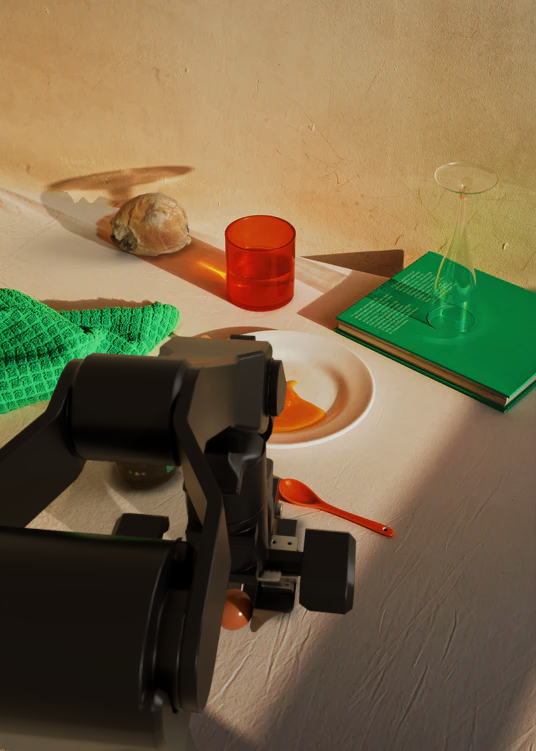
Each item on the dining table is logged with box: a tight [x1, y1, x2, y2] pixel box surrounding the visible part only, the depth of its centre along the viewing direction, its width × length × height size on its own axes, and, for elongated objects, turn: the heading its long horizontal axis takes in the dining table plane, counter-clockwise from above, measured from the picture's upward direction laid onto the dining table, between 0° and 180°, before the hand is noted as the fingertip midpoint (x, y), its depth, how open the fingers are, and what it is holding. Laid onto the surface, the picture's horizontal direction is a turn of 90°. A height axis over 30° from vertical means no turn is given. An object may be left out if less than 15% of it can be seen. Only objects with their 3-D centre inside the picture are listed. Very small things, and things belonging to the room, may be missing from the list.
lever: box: [221, 583, 253, 631], centre depth 62 cm, size 12×3×3 cm, turn 173°
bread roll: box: [109, 191, 192, 257], centre depth 119 cm, size 12×13×10 cm
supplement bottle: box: [114, 462, 180, 490], centre depth 76 cm, size 7×7×12 cm
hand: (235, 625), depth 61 cm, fingers closed on lever, 3 cm apart
